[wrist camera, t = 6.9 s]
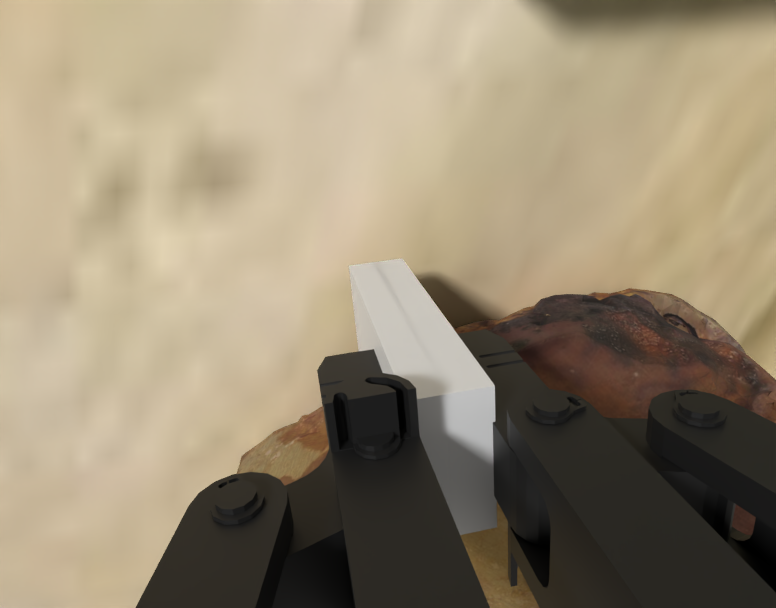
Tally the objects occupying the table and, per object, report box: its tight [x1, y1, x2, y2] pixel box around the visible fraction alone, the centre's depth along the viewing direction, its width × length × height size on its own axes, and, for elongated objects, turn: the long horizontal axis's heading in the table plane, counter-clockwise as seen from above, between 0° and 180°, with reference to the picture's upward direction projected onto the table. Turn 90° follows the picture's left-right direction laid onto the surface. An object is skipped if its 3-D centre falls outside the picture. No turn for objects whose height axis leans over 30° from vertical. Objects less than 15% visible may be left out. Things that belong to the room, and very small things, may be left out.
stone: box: [237, 289, 776, 608], centre depth 16 cm, size 15×9×5 cm, turn 116°
